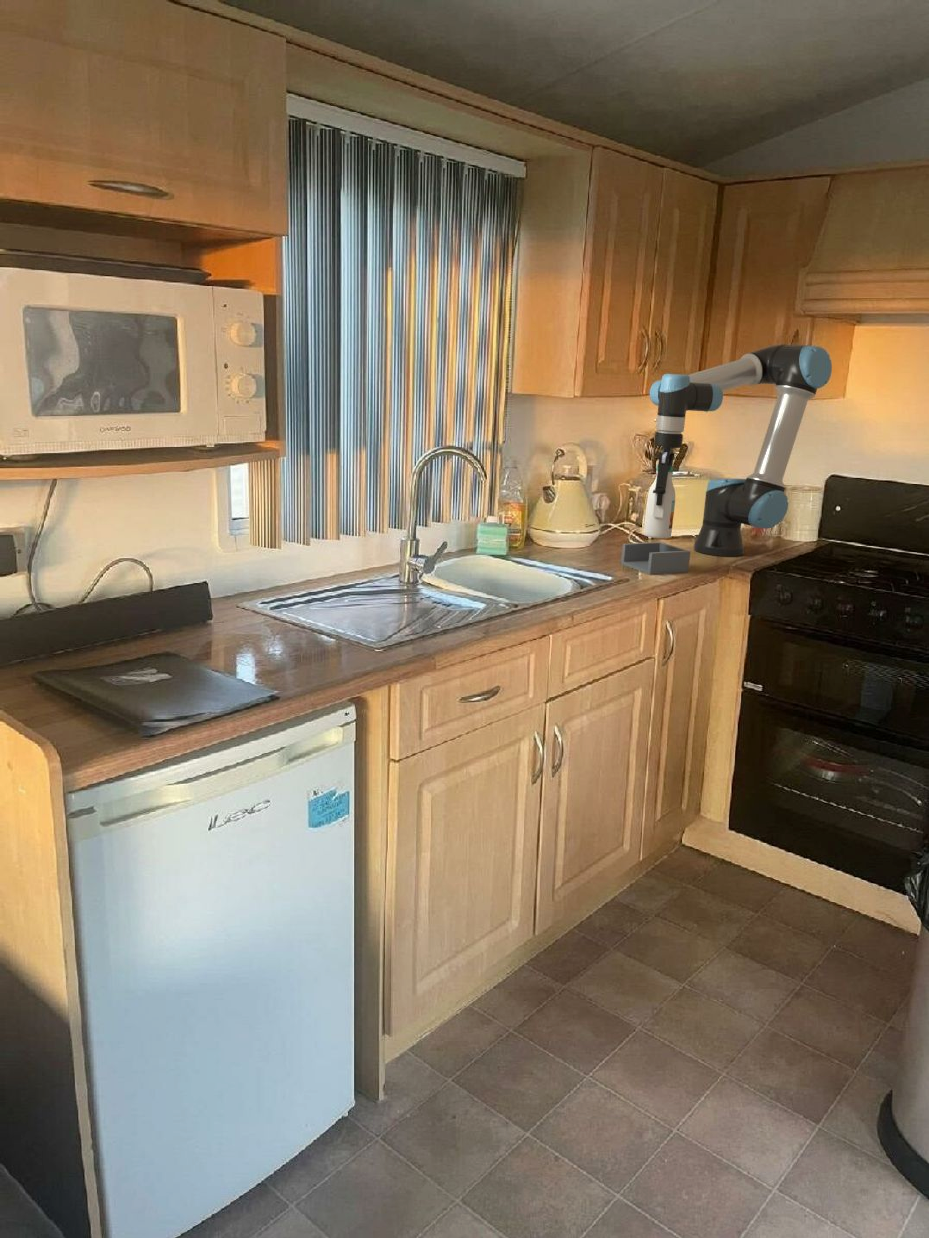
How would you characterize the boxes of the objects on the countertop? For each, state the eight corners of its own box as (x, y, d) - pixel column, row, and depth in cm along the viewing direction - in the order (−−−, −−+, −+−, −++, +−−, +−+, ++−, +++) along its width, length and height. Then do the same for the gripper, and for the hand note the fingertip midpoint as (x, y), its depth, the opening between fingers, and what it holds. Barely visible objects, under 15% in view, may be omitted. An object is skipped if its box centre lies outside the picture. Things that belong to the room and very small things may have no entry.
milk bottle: (663, 540, 266) (672, 467, 261) (638, 535, 271) (646, 464, 265) (675, 537, 272) (684, 466, 267) (650, 532, 277) (658, 462, 271)
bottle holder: (658, 562, 283) (660, 541, 281) (687, 572, 271) (690, 551, 270) (620, 564, 277) (622, 543, 275) (649, 574, 265) (652, 553, 264)
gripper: (659, 429, 274) (650, 508, 280) (650, 433, 255) (641, 518, 261) (686, 431, 272) (676, 511, 278) (679, 435, 253) (669, 521, 259)
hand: (659, 514), depth 270 cm, fingers closed on milk bottle, 7 cm apart
